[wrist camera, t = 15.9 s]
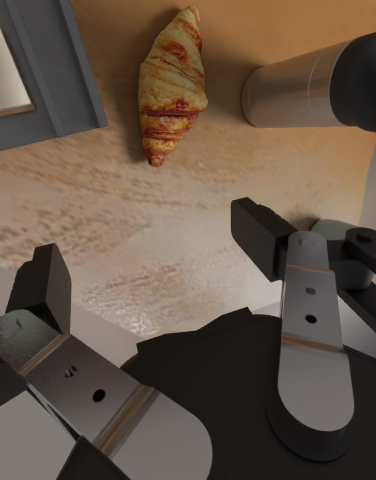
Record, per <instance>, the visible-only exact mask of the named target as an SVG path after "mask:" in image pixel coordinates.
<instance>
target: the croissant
mask: <svg viewBox="0 0 376 480" xmlns="http://www.w3.org/2000/svg"><path fill="white" fill-rule="evenodd" d="M199 22H200V19H199V14H198V10H197V9H196V7H194V6H189V7H187V8H185V9H184V10H182V11H180V12H179V13H178V14H177V16H176V17H175V18H174V19H173V21H172V22H171V23H170V24H168V25H167V26H166V28H165V29H164V30H163V31H161V32H160V33H159V35H158V37H157V38H156V39H155V41H154V43H153V46H152V49H151V51H150V52H149V54H148V56H147V58H146V59H145V61H144V63H141V64H140V66H139V90H138V104H139V112H140V125H141V131H142V136H143V139H142V145H143V148H144V151H145V153H146V156H147V158H148V163H149V164H150V165H151V166H153V167H159V166H161V165H162V164H163V161H164V158H165V156H166V154H168V153H170V152H172V151H173V150H174V149H175V148H176V147H177V146H178V144H180V140H181V139H182V138H183V136H184V133H185V132H187V131H188V130H189V129H190V128H193V124H194V122H195V120H196V118H197V116H198V114H199V113H200V112H202V111H203V110H205V109H206V108H207V104H208V100H207V98H206V93H205V92H204V91H203V90H204V86H205V84H204V82H205V73H204V69H203V66H202V63H201V57H200V56H201V48H202V39H201V36H200V32H199V28H198V27H199Z"/></svg>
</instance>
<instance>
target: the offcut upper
mask: <svg viewBox="0 0 376 480" xmlns="http://www.w3.org/2000/svg"><path fill="white" fill-rule="evenodd" d="M27 105H32V104H31V101H30V99H29V96H28V94H27V92H26V89H25V87H24V84H23V82H22V79H21V77H20V75H19V72H18V70H17V67H16V65H15V62H14V60H13V57H12V55H11V53H10V50H9V48H8V45H7V43H6V40H5V38H4V35H3V33H2V31H1V29H0V111H1V110H6V109H12V108H17V107H22V106H27Z"/></svg>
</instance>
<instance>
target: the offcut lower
mask: <svg viewBox="0 0 376 480" xmlns="http://www.w3.org/2000/svg"><path fill="white" fill-rule="evenodd" d="M0 29H1V31H2V33H3V35H4V38H5V40H6V43H7V45H8V48H9V50H10V53H11V55H12V57H13V60H14V62H15V65H16V67H17V70H18V72H19V75H20V77H21V79H22V82H23V84H24V87H25V89H26V92H27V94H28V96H29V99H30V101H31V104H32V105H27V106H22V107H17V108H12V109H6V110H1V111H0V117H4V116H9V115H14V114H19V113H24V112H29V111H34V110H36V108H35V105H34V103H33V100H32V98H31V95H30V93H29V90H28V88H27V85H26V83H25V81H24V78H23V76H22V73H21V71H20V68H19V66H18V63H17V61H16V58H15V56H14V53H13V51H12V49H11V46H10V44H9V41H8V39H7V36H6V34H5V31H4V29H3V27H2V25H0Z"/></svg>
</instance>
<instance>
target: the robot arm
mask: <svg viewBox="0 0 376 480" xmlns="http://www.w3.org/2000/svg"><path fill="white" fill-rule="evenodd" d="M241 103H242V109H243V112H244V115H245V117H246V118H247V120H248V121H249V122H250V123H251V124H252V125H254V126H255V127H259V128H289V127H347V126H358V127H359V128H361V129H363V130H366V131H370V132H376V32H375V33H371V34H368V35H364V36H361V37H358V38H355V39H352V40H348V41H345V42H342V43H339V44H336V45H333V46H329V47H326V48H323V49H320V50H316V51H313V52H310V53H307V54H303V55H300V56H297V57H293V58H290V59H287V60H284V61H280V62H277V63H273V64H270V65H267V66H264V67H260V68H258V69H256V70H255V71H253V72H252V73H251V74H250V75H249V77H248V78H247V80H246V82H245V84H244V87H243V90H242V96H241ZM231 233H232V236H233V238H234V240H235V241H236V243H237V244H238V245H239V246H240V247H241V248H242V250H243V251H244V252H245V253H246V254H247V255H248V257H249V258H250V259H251V260H252V261H253V262H254V264H255V265H256V266H257V267H258V268H259V269H260V271H261V272H262V273H263V274H264V275H265V276H266V278H267V279H268V280H269V281H270V282H274V281H277V280H280V279H281V280H282V281H283V283H282V292H281V302H280V313H279V317H275V316H271V315H263V314H262V315H261V314H254V315H253V314H252V313H251V311H250V310H249V308H248V307H245V308H242V309H239V310H236V311H233V312H230V313H227V314H224V315H221V316H220V317H218V318H216V319H215V320H213V321H212V322H210V323H208V324H207V325H205V326H204V327H202V328H200V329H198V330H196V331H188V332H179V333H169V334H164V335H161V336H158V337H155V338H152V339H149V340H146V341H142V342H140V343H137V349H138V353H137V354H136V355H134V356H133V357H131V358H130V359H129V360H127V361H126V362H125V363H124V364H123V365H122V366H121V367H120V368H118V367H117V366H115V365H114V364H113V363H111V362H110V361H108V360H107V359H106V358H104V357H103V356H101V355H100V354H99V353H97V352H95V351H94V350H93V349H91V348H90V347H89V346H87V345H86V344H84V343H83V342H82V341H80V340H79V339H77V338H76V337H75V336H73V335H72V334H70V315H71V278H70V274H69V271H68V269H67V267H66V264H65V262H64V260H63V258H62V255H61V253H60V251H59V249H58V246H57V245H56V244H55V243H52V244H48V245H43V246H39V247H36V248H35V250H34V255H33V259H32V261H28V262H25V263H24V264H23V265H22V266H21V267H20V269H19V270H18V271H17V274H16V277H15V282H14V284H13V290H12V291H11V295H10V298H9V301H8V305H7V308H6V312H5V314H4V315H3V316H1V317H0V406H1V405H3V404H4V403H6V402H8V401H9V400H11V399H12V398H14V397H16V396H17V395H19V394H20V393H22V392H23V391H26V392H27V393H28V394H29V395H30V396H31V397H32V398H33V399H34V400H35V401H36V402H37V403H38V404H39V405H40V406H41V407H42V408H43V409H44V410H45V411H46V412H47V413H48V414H49V415H50V416H51V417H52V418H53V419H54V420H55V421H56V422H57V423H58V424H59V426H60V427H61V428H62V429H63V430H64V431H65V432H66V433H67V434H68V436H69V437H70V438H71V439H72V440H73V441H74V442H75V443H76V444H75V445H74V447H73V449H72V451H71V453H70V455H69V457H68V458H67V460H66V462H65V464H64V466H63V468H62V469H61V471H60V473H59V475H58V477H57V479H56V480H376V358H374V357H372V356H369V355H367V354H365V353H362V352H360V351H358V350H355V349H353V348H351V347H348V346H346V345H344V344H343V342H342V333H341V325H340V316H339V308H338V299H337V295H338V296H339V297H340V298H342V299H343V301H344V302H345V303H346V304H348V306H349V307H350V308H351V309H352V310H353V311H354V312H356V314H357V315H358V316H360V318H361V319H362V320H363V321H364V322H365V323H366V324H367V325H368V326H369V327H370V328H371V329H372V330H373V331H375V333H376V284H374V283H373V282H372V281H371V280H372V278H373V275H374V273H375V274H376V231H375V230H372V229H369V228H363V227H356V228H351V229H349V230H347V231H346V233H345V237H344V239H343V240H326V239H325V238H324V237H323V236H322V235H320V234H318V233H316V232H312V231H305V230H304V231H298V230H297V229H296V228H294V227H293V226H292V225H290V224H289V223H288V222H287V221H285V220H284V219H283V218H281V217H280V216H279V215H278V214H276V213H275V212H274V211H273V210H271V209H270V208H268V207H265V206H263V205H260V204H259V205H257V204H256V203H255V202H253V201H252V200H251V199H250V198H248V197H245V198H241V199H237V200H233V201H232V202H231Z"/></svg>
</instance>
